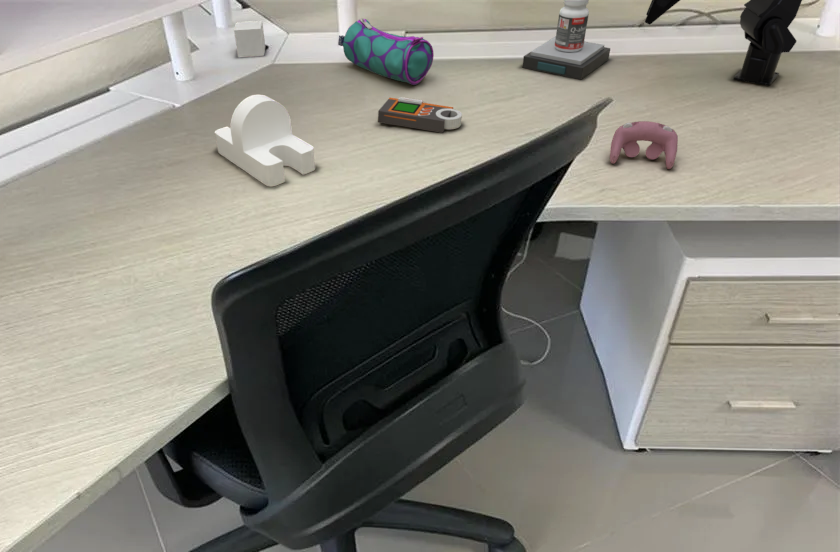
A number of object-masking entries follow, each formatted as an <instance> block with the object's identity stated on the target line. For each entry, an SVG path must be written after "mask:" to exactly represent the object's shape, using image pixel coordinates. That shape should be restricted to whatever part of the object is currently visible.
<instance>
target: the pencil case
mask: <svg viewBox="0 0 840 552" xmlns="http://www.w3.org/2000/svg"><path fill="white" fill-rule="evenodd" d="M337 45H338V46H340V47H342V48H343V53H344V54H343V55H344V56H345V58H346V59H347V60H348V61H349V62H351V63H352V64H354V65H356V66H358V67H360V68H361V69H364V70H367V71H369V72H370V73H373V74H375V75H379V76H381V77H384V78H387V79H391V80H394V81H398V82H402V83H407V84H410V85H413V86H415V85H419V84H420V82H422V81H423V79H424V78H425V77H426V76H427V74H428V73H429V71H430V69H431V67H432V65H433V62H434V54H435V53H434V48H433V45H432V44H431V42H429V41H428V40H427V39H425V38H424V36H420V37H418V36H414V35H412V36H404V35H398V34H394V33H389V32H386V31H384V30H383V31H382V30H380V29H378V28H377V27H375V26H373V25H371V22H370V21H369V19H365V18H363V17H361V18H359V19H358V20H356V21H355V22H353V23H352V24H350V25H349V27H348V28H347V30H346V31H345V35H338V41H337Z"/></svg>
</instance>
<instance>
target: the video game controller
mask: <svg viewBox="0 0 840 552" xmlns="http://www.w3.org/2000/svg"><path fill="white" fill-rule="evenodd" d="M640 141H641V142H642V141H643V142H651V144H649V145H648V146H647V148H646V149H645V157H646V158H647V159H648V160H652V161H653V160H657V158H659V157H660V155H661V154H662V153H663V152H664V156H665V157H664V158H665V167H666V169H667V170H670V169H673V166H674V165H675V161H676V158H677V154H678V144H679V143H678V141H679V138H678V134H677V132H676V131H675V130H674V129H673V128H672V127H671V126H669V125H666V124H663V123H660V122H656V121H649V120H647V121H646V120H644V121H643V120H642V121H639V120H638V121H633V122H626V123H624V124H622V125H620V126H619V127H617V129H616V130H615V132H614V133H613V136H612V139H611V144H610V149H609V150H610V151H609V161H610V163H611V164H612V165H614V164H616V162H617V161H618V160H619V158H620V154H621V150H622V149H623V152H624V154H625V156H626V157H628V158H635V157H637V156H638V155H639V153H640V152H641V148H640V145H639V143H638V142H640Z"/></svg>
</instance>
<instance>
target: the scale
mask: <svg viewBox="0 0 840 552" xmlns="http://www.w3.org/2000/svg"><path fill="white" fill-rule="evenodd" d="M555 39H556V35H554V36H552V38H550V39H548V40H547V41H545V42H544V43H542V44H541V45H539V46H537V47H536V48H534V49H532V50H531V51H530V52H528V53H527V54H524V55H523V58H522V66H521V67H522V68H523V69H526V70H531V71H532V70H533V71H537V72H542V73H547V74H552V75H557V76H561V77H567V78H570V79H576V80H580V81H581V80H583V79H584V78H585V77H587V76H588V75H590V74H591V73H593V71H595V70H596V69H598V68H600V67H601V66H602V65H603V64H605V63H606V62H607V61H608V60H609V58H610V53H611V47H606V46H605V44H603V43H596V42H592V41H591V42H590V41H585V40H584V45H583V48H582V49H581V50H579V51H576V52H563V51H559V50H557V49H556V48H555Z"/></svg>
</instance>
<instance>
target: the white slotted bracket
mask: <svg viewBox="0 0 840 552" xmlns="http://www.w3.org/2000/svg"><path fill="white" fill-rule="evenodd" d="M214 135H215V141H216V142H215V143H216V148H217V152H218V154H219V155H221V156H222V157H224V158H225V159H226V160H228V161H229V162H231V163H233V164H234V165H236V166H237V167H238V168H239V169H241V170H243V171H244V172H246V173H247V174H249V175H250V176H251V177H253V178H254V179H256V180H257V181H259V182H260V183H262V184H263V185H265V186H266V187H276V186H278V185H281V184H283V183H286V176H285V169H284V168H285V166H286V167H290V168H292V169H293V170H295V171H297V172H298V173H300V174H302V176H304V175H306V174H309V173H311V172H314V171H315V170H316V159H315V148H314V147H315V146H313V145H312V144H310V143H308V142H306V141H305V140H303V139H301V138H299V137H298V136H296V135H295V134H293V128H292V120H291V115H290V112H289V111H288V109H287V108H286V107H285V106H284V105H283V104H282V103H280V102H279V101H277V100H274V99H273V98H271V97H269V96H267V95H264V94H251V95H249V96H248V97H246V98H244V99H243V100H242V101H241V102H239V103H238V105H237V106H236V107H235V109H234V111H233V113H232V115H231V120H230V125H229V126H224V127H221V128H218V129H215V131H214Z"/></svg>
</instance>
